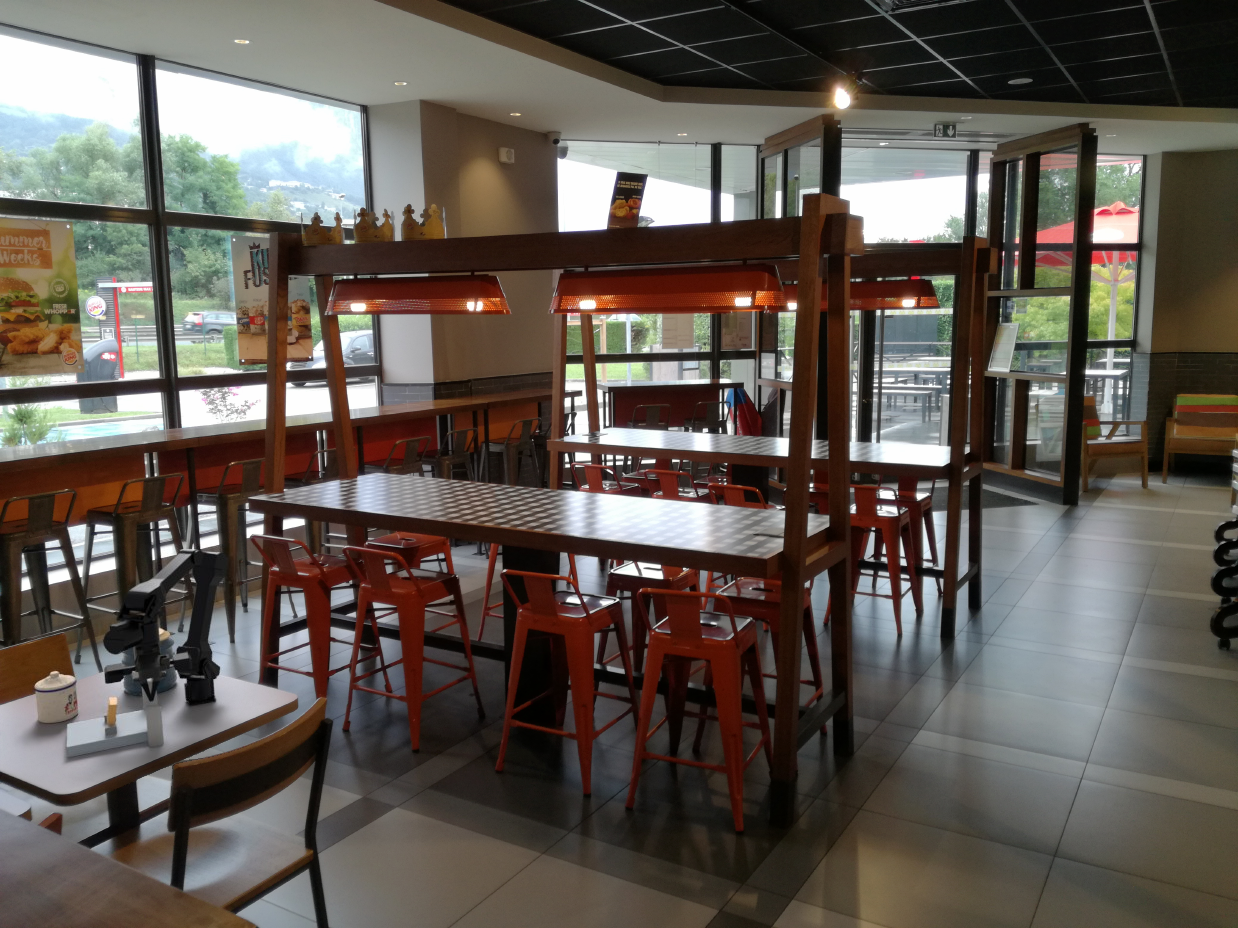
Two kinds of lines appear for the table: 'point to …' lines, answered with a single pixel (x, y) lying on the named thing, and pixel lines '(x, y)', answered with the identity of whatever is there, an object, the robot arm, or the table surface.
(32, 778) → the table surface
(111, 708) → the thick orange slab
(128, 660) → the canister
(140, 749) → the table surface
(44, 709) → the teacup with lid
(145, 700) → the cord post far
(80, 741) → the panel
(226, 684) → the table surface
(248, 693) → the table surface
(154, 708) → the cord post near
